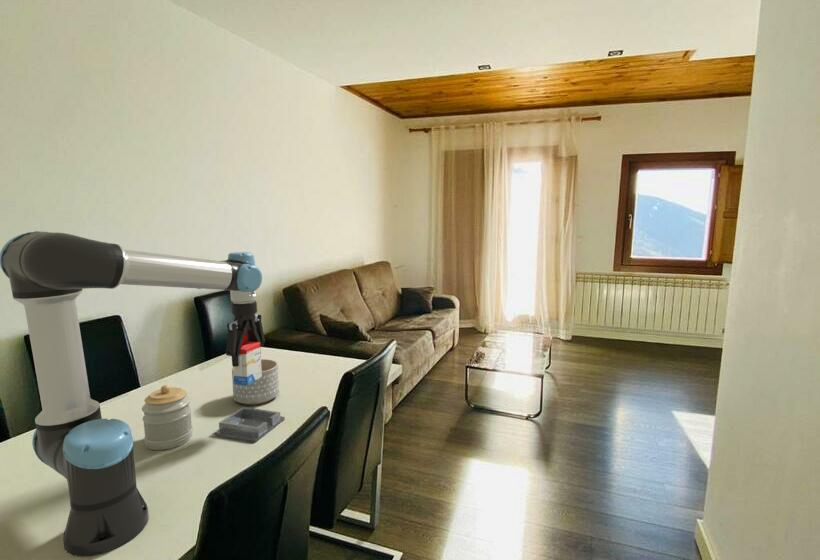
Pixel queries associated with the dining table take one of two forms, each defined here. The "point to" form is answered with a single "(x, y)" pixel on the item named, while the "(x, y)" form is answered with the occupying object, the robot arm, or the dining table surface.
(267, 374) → the planter
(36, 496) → the dining table surface
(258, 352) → the ink box
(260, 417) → the fixture tray
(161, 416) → the jar
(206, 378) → the dining table surface
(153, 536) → the dining table surface
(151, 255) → the robot arm
